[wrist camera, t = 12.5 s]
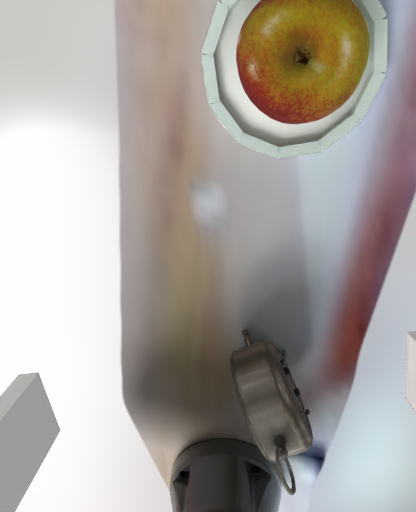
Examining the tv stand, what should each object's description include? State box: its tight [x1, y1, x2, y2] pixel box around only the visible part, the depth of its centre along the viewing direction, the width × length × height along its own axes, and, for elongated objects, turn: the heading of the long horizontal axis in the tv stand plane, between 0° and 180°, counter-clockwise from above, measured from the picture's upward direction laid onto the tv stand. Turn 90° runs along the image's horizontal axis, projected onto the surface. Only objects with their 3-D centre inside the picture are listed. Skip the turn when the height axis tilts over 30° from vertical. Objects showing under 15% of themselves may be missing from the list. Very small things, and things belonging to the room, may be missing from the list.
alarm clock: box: [231, 330, 313, 495], centre depth 34 cm, size 11×5×16 cm, turn 26°
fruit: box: [236, 0, 370, 124], centre depth 26 cm, size 10×9×8 cm
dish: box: [201, 0, 388, 159], centre depth 29 cm, size 15×15×2 cm
